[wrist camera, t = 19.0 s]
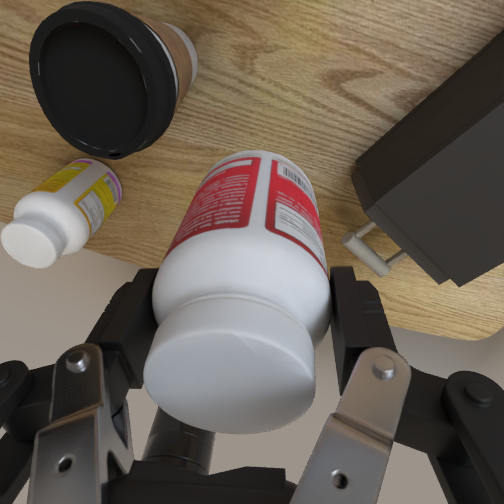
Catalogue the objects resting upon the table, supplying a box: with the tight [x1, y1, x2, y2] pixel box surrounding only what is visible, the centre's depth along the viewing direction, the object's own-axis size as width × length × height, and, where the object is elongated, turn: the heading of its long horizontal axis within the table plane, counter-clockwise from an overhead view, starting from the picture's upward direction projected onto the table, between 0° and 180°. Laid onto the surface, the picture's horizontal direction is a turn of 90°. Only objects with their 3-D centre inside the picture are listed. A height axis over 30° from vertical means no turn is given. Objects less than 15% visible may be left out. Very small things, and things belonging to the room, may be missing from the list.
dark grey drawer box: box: [356, 30, 504, 287], centre depth 30 cm, size 16×13×10 cm
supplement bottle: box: [1, 158, 122, 268], centre depth 34 cm, size 7×7×13 cm
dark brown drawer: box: [341, 170, 450, 285], centre depth 32 cm, size 19×11×8 cm, turn 139°
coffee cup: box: [29, 1, 198, 160], centre depth 25 cm, size 8×8×15 cm
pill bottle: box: [143, 150, 332, 434], centre depth 14 cm, size 6×6×11 cm
